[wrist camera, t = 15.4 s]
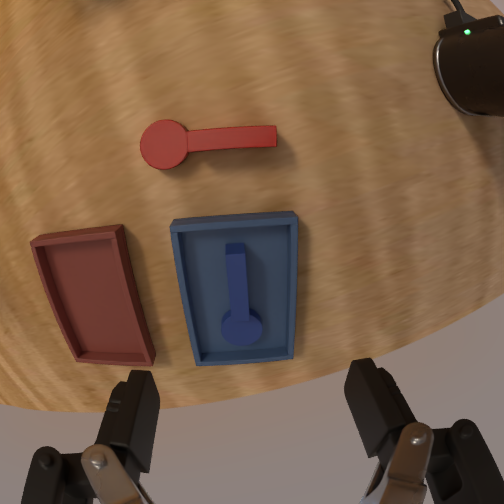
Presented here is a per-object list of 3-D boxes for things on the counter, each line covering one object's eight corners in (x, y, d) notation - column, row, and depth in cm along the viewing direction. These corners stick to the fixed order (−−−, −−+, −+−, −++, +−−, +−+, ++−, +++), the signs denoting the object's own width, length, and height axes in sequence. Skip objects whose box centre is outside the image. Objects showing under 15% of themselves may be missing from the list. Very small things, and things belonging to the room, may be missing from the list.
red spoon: (146, 170, 22) (137, 174, 20) (142, 124, 20) (133, 123, 18) (273, 160, 22) (277, 162, 20) (271, 112, 21) (275, 109, 19)
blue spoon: (262, 336, 29) (264, 352, 26) (223, 339, 28) (223, 355, 26) (258, 241, 25) (261, 252, 22) (211, 244, 24) (209, 255, 22)
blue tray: (173, 218, 24) (169, 226, 22) (292, 210, 24) (298, 217, 22) (197, 353, 30) (196, 366, 28) (289, 346, 30) (293, 359, 28)
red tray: (39, 234, 23) (29, 241, 21) (122, 224, 24) (115, 231, 22) (81, 351, 29) (76, 362, 27) (156, 354, 29) (152, 366, 28)
